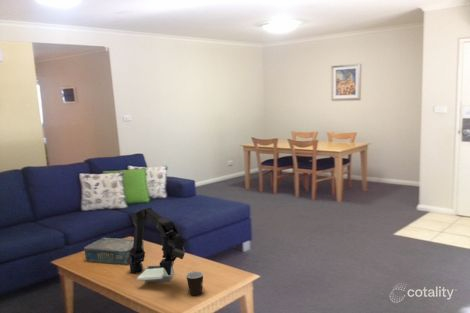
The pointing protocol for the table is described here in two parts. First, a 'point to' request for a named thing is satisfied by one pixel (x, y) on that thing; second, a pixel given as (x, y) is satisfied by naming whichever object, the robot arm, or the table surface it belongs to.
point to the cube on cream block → (154, 274)
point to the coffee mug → (195, 283)
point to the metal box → (109, 251)
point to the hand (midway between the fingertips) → (170, 273)
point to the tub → (164, 279)
